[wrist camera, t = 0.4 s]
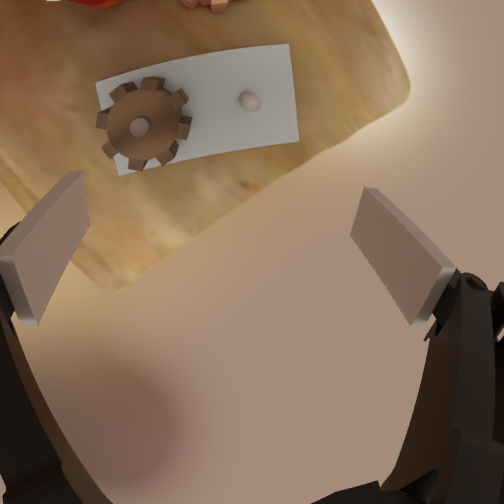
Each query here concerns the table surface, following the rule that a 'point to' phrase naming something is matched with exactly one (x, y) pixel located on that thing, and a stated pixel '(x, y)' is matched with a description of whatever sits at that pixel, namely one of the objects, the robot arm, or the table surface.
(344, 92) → the table surface
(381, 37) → the table surface
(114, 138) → the gear
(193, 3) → the gear
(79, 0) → the paper cup
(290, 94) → the gear board
